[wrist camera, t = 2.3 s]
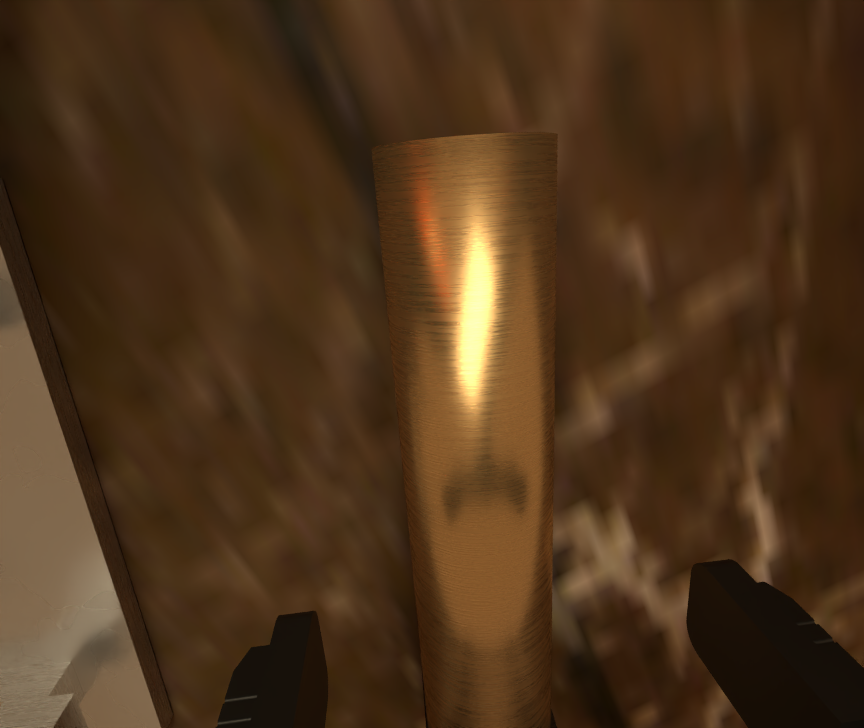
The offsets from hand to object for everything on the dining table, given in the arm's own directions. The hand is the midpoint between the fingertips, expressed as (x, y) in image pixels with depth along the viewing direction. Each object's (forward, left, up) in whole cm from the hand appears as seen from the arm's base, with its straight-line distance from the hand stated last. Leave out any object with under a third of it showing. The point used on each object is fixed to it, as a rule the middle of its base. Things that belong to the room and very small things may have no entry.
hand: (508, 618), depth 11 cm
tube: (-1, 0, -6) cm, 6 cm away
